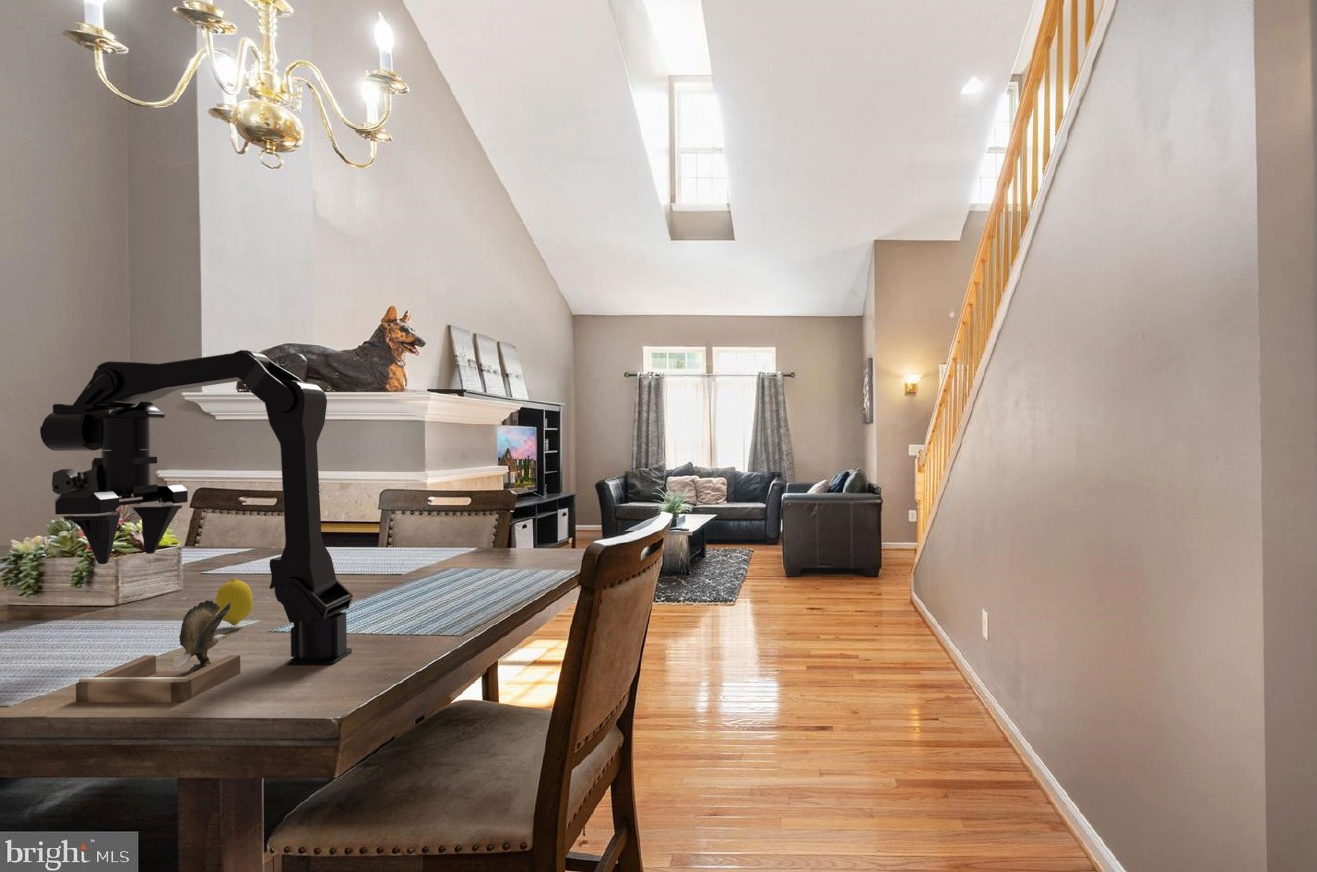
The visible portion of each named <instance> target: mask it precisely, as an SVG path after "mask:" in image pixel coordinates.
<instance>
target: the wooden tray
mask: <svg viewBox="0 0 1317 872" xmlns="http://www.w3.org/2000/svg"><path fill="white" fill-rule="evenodd" d="M155 674H157V655H152V654H151V655H147V654H146V655H143V656H140V657H138V658H136V659H133V660H131V661H128V662H125V663H123V664H121V665H119V666H116V667H113V668H110V669H109V670H106V671H104V672H100V673H99V674H96V675H94V676H89V677H85V676H84V677H81V678H78V682H77V683H75V702H76V703H185V702H187V701H189V700H191V699H193V698H195V697H197V696H199V695H201V694H203V693H205V692H206V691H209V690H210V689H213V688H215V687H217V686H219V685H221V684H223V683H224V682H227V681H229V680H231V679H233V678H235V677H236V676H238V675H240V674H241V655H240V654H229V655H227V656H225V657H223V658H220V659H218V660H216V661H214V662H212V664H210V665H208V666H206V667H202V668H198V669H196V671H195V670H194V671H193V673H190V674H187V675H185V676H159V677H158V676H155V677H154V676H153V675H155Z"/></svg>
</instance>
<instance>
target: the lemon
mask: <svg viewBox="0 0 1317 872" xmlns="http://www.w3.org/2000/svg"><path fill="white" fill-rule="evenodd" d="M230 602H231V605H230V609H229V611H228V612H227V614H226V615H225V616H224V617H223V619H222V621H224V622H227V623H228V624H229V625H231V626H237V625H238V624H239V623H240V622H242V621H243V620H244V619H246V618H247V617H248V616H249V615H250V613H251V611H252V609H253V605H254V599H253V593H252V590H251V588H250V586H249V585H248V584H247V583H246V582H244V581H242V580H239V579H238V578H235V577H233V578H231V579H230V580H229V581H227V582H225V583H224V584H222V585H221V586H220V588H219V589H218V590H217V593H216V596H215V600H214V603H217V606H220V609H219V611H218V612H217V613H216V615H217V614H219V613H220V612H221V611H222V610H223V609H224V607H225V606H226V605H227V604H229V603H230Z"/></svg>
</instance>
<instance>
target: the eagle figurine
mask: <svg viewBox="0 0 1317 872" xmlns="http://www.w3.org/2000/svg"><path fill="white" fill-rule="evenodd" d="M230 605H231V602H230V603H229V604H227V605H226V606H225V607H224V609H223V610H222V611H221V612H220V613H219V614H217V612H218V611H219V609H220V606H217V603H215V601H214V600H205V601H200V602H199V603H198V605H194V606H193V607H192V608H190V609H189V610H188V611H187V613H186V614H185V615H184V617H183V618H182V623H181V628H180V634H179V645H180V646H181V647H182V648H184V649H185V652H184V653H183V654H180V655H178V656H176V657H175V658H174V659H173V661H172V664H171V668H172V669H174V670H176V669H179V668H182V667H183V666H184V665H186V664H187V663H188V662H189V661H190V659H191V658H193V656H196V658H197V660H198V661H199V663H194V664H193V665H192V667H191V668H190V669H189V671H190V672H189V673H190V674H191V673H193V672H195V670H199V669H201V668H203V667H206V666H208V665H210V664H212V663H213V662H212V661H210V658H209V656H208V651H209V650H210V649H212V648H214V646H216V645H217V644H218V643H219V642H221V641H222V640H224V639H227V635H225V634H217V635H215V633H216V630H217V629H218V627H219V625H221V623H222V621H223V620H222V619H223V617H224V616H225V615H226V614H227V612H228V611H229V609H230Z"/></svg>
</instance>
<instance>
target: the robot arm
mask: <svg viewBox="0 0 1317 872" xmlns="http://www.w3.org/2000/svg"><path fill="white" fill-rule="evenodd" d="M235 382H236V383H237V382H243V384H244V385H245V386H246V387H247V388H248V390H249V391H250V393H252V395H254V396H255V397H257V399H259V400H261V401H262V402H263V403H264V407H265V411H266V416H267V420H268V423H269V426H270V427H271V430H272V431H273V433H274V436H275V437H276V439H277V441H278V443H279V446H280V462H281V483H282V484H281V486H282V502H283V520H284V522H283V523H284V540H285V541H284V542H285V543H284V548H283V550H282V553H281V556H278V557H274V558H271V559H270V560H269V570H270V574H271V576H270V577H271V579H270V580H271V581H270V585H269V590H273V589H274V591H273V592H274V596H275V599H276V601H277V602H278V603H280V604H282V607H283V608H284V611H285V614H286V616H287V620H288V622H289V623H291V624H292V623H293V626H292V627H291V628H290V630H289V631H290V633H289V634H290V657H291V658H290V659H288V660H287V665H334V664H336V663H337V662H338V661H341V660H342V659H343V658H345V657H347V656H348V655H349V654H350V653H352V652H353V648H351V647H348V644H347V643H348V637H347V635H348V634H347V633H348V631H347V630H348V629H347V627H348V626H347V621H348V619H347V618H348V617H347V616H348V615H347V612H345V610H349V609H350V606H351V604H352V600H353V597H354V595H353V593H351V592H350V591H349V590H348V589H347V588H346V587H345V586H344V585H343V584H342V583H341V582H340V581H339V580H338V579H337V577H336V571H335V568H334V567H335V566H334V562H333V558H332V556H331V554H330V552H329V551H328V549H327V547H326V545H325V543H324V541H323V537H322V535H323V533H322V518H321V515H322V514H321V501H320V498H321V497H320V496H321V495H320V480H319V462H318V461H319V460H318V441H319V438H320V435H321V433H322V431H323V429H324V426H325V423H326V421H325V420H326V416H327V415H326V414H327V413H326V412H327V405H328V399H327V395H326V393H325V391H324V390H322V388H320V386H318V385H317V384H316V383H312V382H306V381H303V380H302V379H300V378H299V377H298V376H296V375H295V374H293V373H292V372H289V371H288V370H286V369H284V368H282V367H281V366H279V365H278V364H276V363H275V362H274V361H272V360H271V359H269V358H268V356H266V355H265V354H263V353H260V352H258V351H257V352H256V351H252V350H251V351H250V350H247V349H240V350H237V351H234V352H231V353H225V354H224V353H223V354H217V355H208V356H204V357H197V358H191V359H190V358H189V359H183V360H176V361H168V362H162V363H161V362H160V363H148V362H135V361H134V362H131V361H105V362H100V364H98V365H97V367H96V369H95V370H94V372H93V375H92V377H91V379H90V380H89V381H88V383H87V385H86V386H85V387H84V388H83V390H82V392H80V395H78V397H77V398H76V400H75V401H74V402H73V404H71V403H69V404H67V403H66V404H65V403H54V404H52V412H51V413H49V414H48V415H47V416H46V417H45V418H44V419H43V422H42V425H41V426H40V428H39V433H40V439H41V441H42V443H43V444H44V446H45V447H47V448H48V449H50V450H51V451H53V452H54V451H55V452H70V451H71V452H74V451H75V452H77V451H78V452H80V451H82V452H83V451H91V452H92V451H98V450H100V449H101V451H100V453H101V455H100V456H101V457H94V458H93V460H92V461H91V468H90V469H89V470H85V471H78V472H76V471H75V470H74V469H73V468H63V469H59V470H57V471H54V472H52V478H51V487H52V490H51V491H52V492H53V493H54V494H57V495H58V496H57V498H55V499H54V514H55V515H63V516H62V518H63V519H64V520H65V521H71V522H72V523H73V524H75V525H77V526H78V527H79V529H81V531H82V532H83V534H84V536H85V538H86V540H87V543H88V544H89V546H90V548H91V552H92V554H93V555H94V558H95V560H96V563H97V564H98V565H106V564H108V563H109V559H110V557H111V553H112V552H113V551H112V550H113V546H114V542H115V538H116V534H117V529H118V526H119V522H120V518H121V513H114V512H116V511H117V509H118V508H119V506H128V505H139V506H133V507H132V509H133V510H134V512H135V513H137V515H138V516H139V517H140V519H141V527H142V536H143V537H142V538H143V539H142V540H143V547H144V552H145V554H146V555H152V554H155V553H156V550H157V549H158V547H159V545H160V543H161V541H162V539H163V537H164V536H165V534H166V531H167V530H168V528H169V526H170V524H171V523H172V521H173V519H174V518H175V516H176V515H177V513H178V512H179V510H181V509H182V508H183V504H182V503H188V502H189V500H188V499H189V498H188V497H189V496H188V495H189V492H188V489H187V488H186V487H185V486H184V485H182V484H158V483H157V484H153V483H152V484H151V464H158V456H151V451H150V449H151V438H150V437H151V435H150V433H151V432H150V429H151V428H150V426H151V425H150V423H151V422H150V420H151V419H164V418H165V416H166V414H165V413H164V412H163V411H161V410H160V409H158V408H157V407H156V406H155V405H154V403H153V401H155V400H160V399H162V398H163V397H165V396H167V395H169V394H170V393H173V392H176V391H179V390H187V389H192V388H200V387H207V386H216V385H221V384H229V383H235ZM343 611H344V612H343Z"/></svg>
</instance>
